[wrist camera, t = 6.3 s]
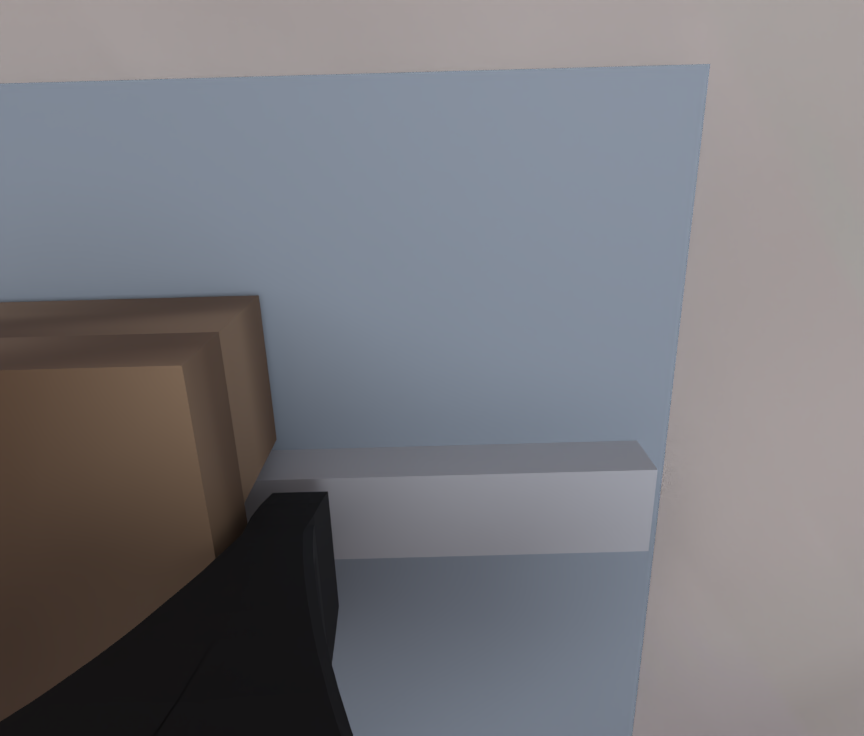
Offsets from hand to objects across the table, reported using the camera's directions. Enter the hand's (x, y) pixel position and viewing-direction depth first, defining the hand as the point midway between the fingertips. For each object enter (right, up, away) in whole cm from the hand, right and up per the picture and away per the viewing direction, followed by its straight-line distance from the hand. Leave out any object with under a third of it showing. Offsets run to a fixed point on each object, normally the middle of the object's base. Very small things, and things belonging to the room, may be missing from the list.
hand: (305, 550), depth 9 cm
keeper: (-3, 0, +1) cm, 3 cm away
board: (-1, +1, +2) cm, 3 cm away
